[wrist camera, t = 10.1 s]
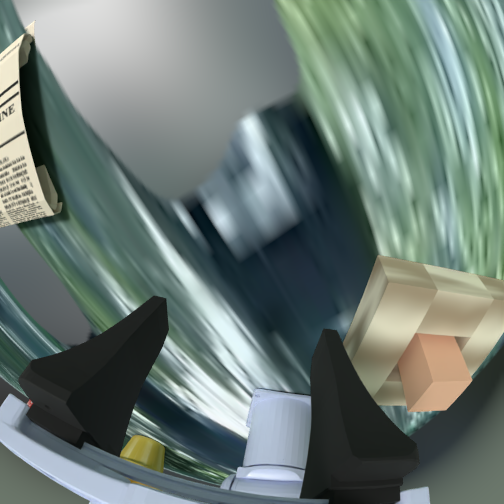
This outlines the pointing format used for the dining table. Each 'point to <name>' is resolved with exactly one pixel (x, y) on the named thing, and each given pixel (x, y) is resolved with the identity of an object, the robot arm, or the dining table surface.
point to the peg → (432, 372)
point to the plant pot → (144, 454)
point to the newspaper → (20, 147)
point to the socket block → (420, 320)
